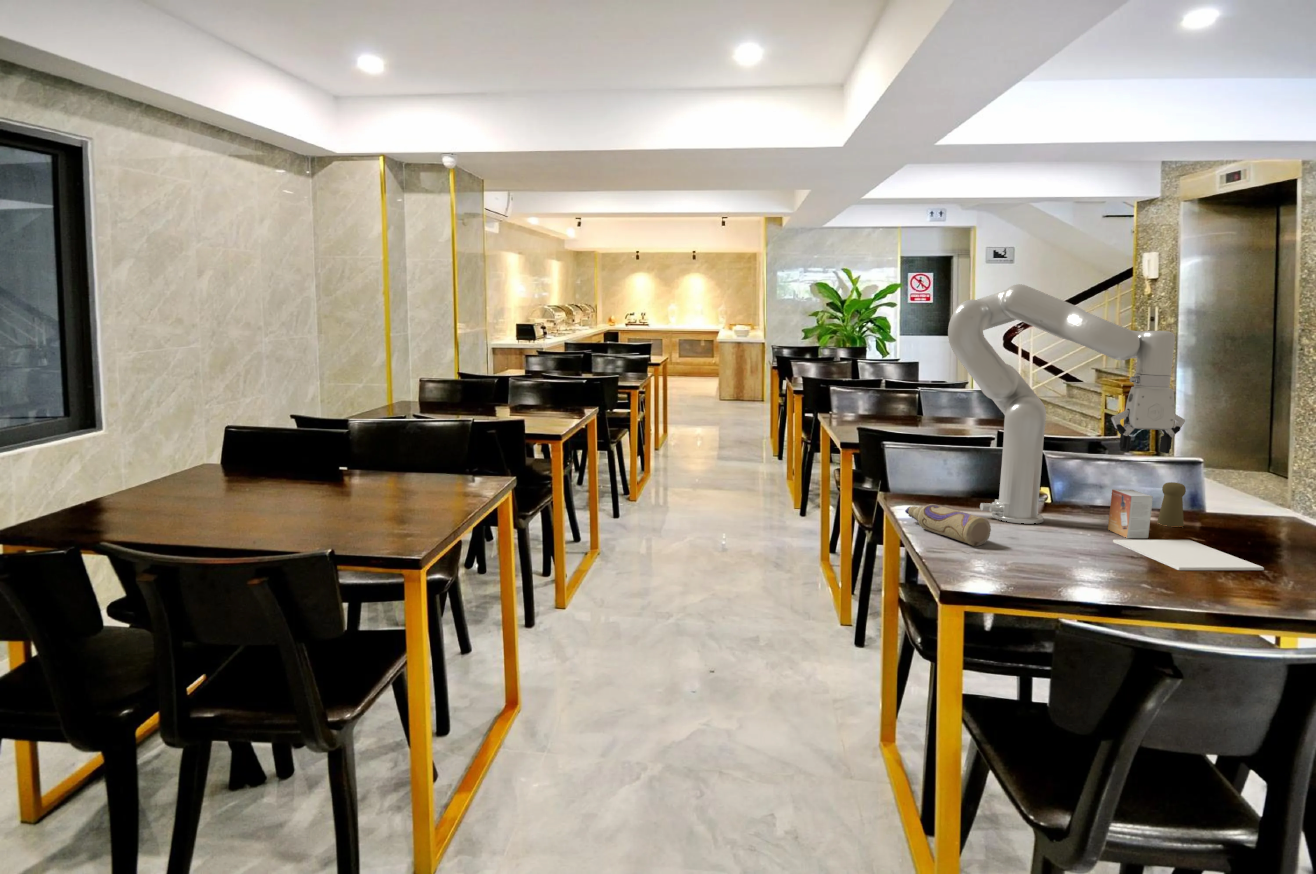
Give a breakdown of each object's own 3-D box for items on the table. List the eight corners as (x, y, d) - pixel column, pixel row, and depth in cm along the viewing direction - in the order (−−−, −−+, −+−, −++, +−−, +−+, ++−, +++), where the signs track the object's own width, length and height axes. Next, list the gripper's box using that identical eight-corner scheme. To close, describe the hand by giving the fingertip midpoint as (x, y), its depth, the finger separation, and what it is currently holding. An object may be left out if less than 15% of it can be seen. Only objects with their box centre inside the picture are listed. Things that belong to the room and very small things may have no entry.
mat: (1178, 570, 184) (1179, 567, 184) (1113, 542, 207) (1113, 539, 207) (1263, 570, 186) (1263, 567, 186) (1189, 542, 209) (1189, 539, 209)
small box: (1107, 530, 219) (1111, 488, 217) (1128, 530, 219) (1132, 489, 218) (1126, 538, 211) (1131, 495, 210) (1149, 538, 211) (1153, 495, 210)
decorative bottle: (992, 545, 202) (994, 517, 201) (966, 548, 199) (968, 519, 198) (919, 520, 225) (921, 494, 224) (895, 522, 223) (896, 496, 222)
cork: (1180, 523, 229) (1185, 481, 227) (1186, 528, 223) (1190, 485, 221) (1154, 521, 231) (1158, 480, 229) (1159, 526, 225) (1163, 483, 223)
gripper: (1124, 382, 209) (1116, 453, 212) (1197, 384, 209) (1188, 455, 212) (1108, 379, 217) (1101, 448, 219) (1179, 382, 217) (1171, 450, 219)
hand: (1144, 452), depth 215 cm, fingers open, 9 cm apart
